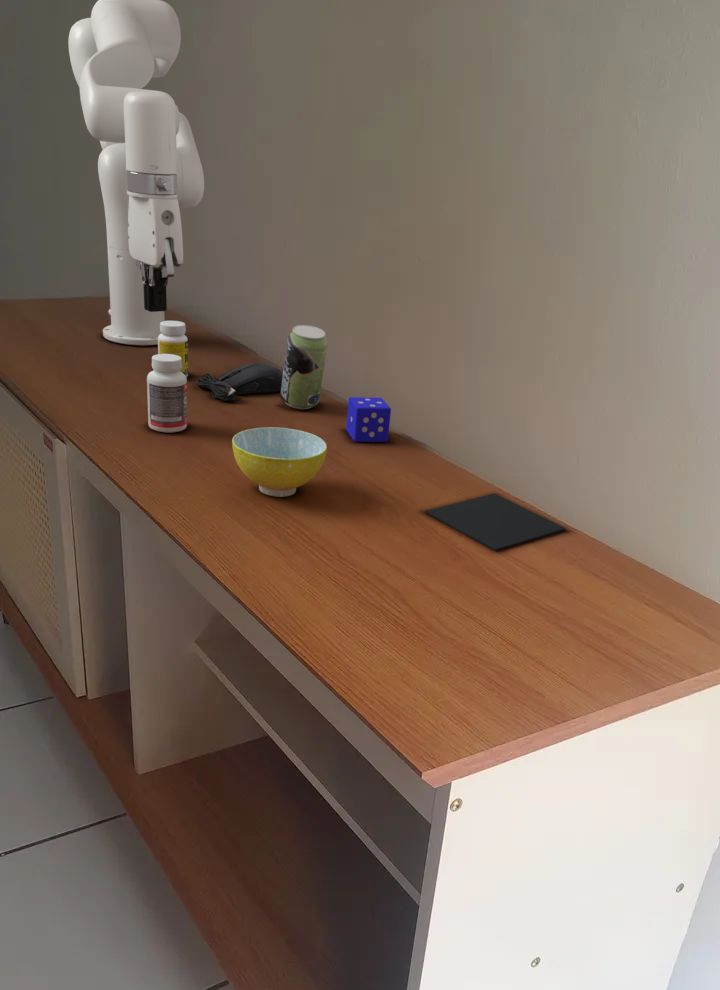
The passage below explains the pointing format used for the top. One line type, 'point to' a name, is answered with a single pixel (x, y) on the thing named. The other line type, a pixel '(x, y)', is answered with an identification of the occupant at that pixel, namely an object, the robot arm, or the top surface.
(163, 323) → the supplement bottle
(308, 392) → the beverage can
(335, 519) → the top surface
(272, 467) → the bowl
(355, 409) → the die
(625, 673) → the top surface
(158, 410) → the pill bottle
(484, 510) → the mat
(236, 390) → the computer mouse
